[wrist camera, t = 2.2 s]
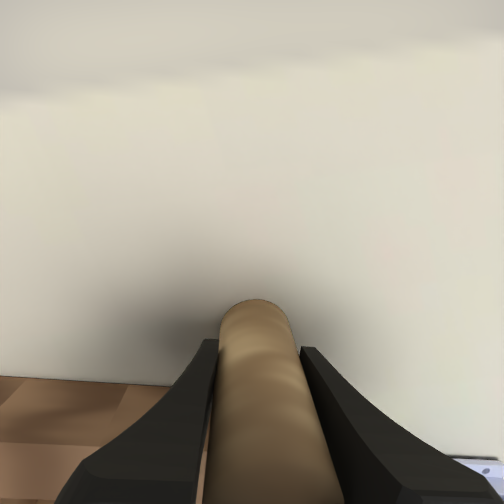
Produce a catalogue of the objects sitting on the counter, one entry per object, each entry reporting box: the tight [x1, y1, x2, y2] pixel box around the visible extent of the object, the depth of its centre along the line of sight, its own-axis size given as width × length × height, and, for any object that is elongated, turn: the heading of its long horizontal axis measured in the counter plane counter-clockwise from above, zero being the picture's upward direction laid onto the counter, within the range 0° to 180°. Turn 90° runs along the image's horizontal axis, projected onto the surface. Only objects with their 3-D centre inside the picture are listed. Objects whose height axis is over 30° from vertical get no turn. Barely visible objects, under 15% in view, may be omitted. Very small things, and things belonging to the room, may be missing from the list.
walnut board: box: [0, 376, 212, 504], centre depth 15 cm, size 16×12×4 cm
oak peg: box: [202, 299, 344, 504], centre depth 11 cm, size 4×4×8 cm
